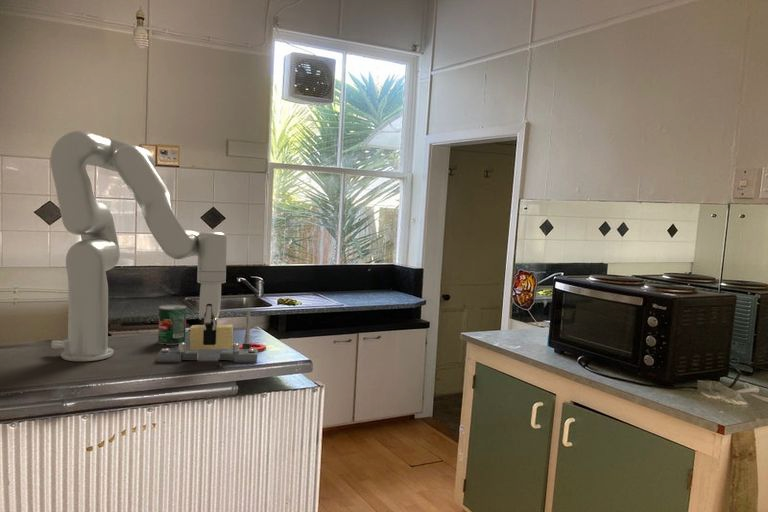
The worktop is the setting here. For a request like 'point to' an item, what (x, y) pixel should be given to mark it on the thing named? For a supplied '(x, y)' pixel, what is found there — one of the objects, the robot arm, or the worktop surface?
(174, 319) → the canned tomato
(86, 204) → the robot arm
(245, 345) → the tow hook
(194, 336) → the tan cork brick
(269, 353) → the worktop surface
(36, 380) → the worktop surface
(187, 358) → the grey plate with studs
